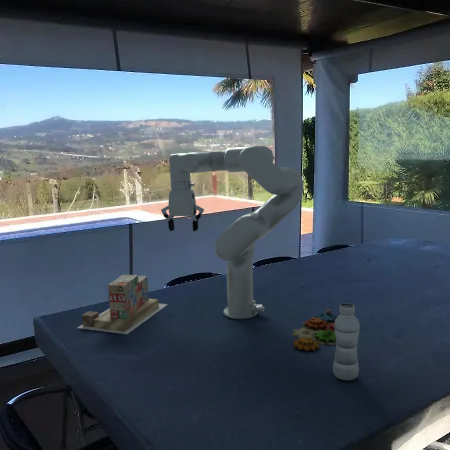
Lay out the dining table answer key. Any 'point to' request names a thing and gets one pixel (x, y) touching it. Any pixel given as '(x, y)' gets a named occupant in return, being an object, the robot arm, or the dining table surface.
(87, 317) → the walnut cube
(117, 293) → the stack of blocks
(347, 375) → the plastic bottle
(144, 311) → the oak plinth
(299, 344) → the gear puzzle
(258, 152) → the robot arm
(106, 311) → the cream tile
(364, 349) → the dining table surface
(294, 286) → the dining table surface
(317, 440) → the dining table surface
